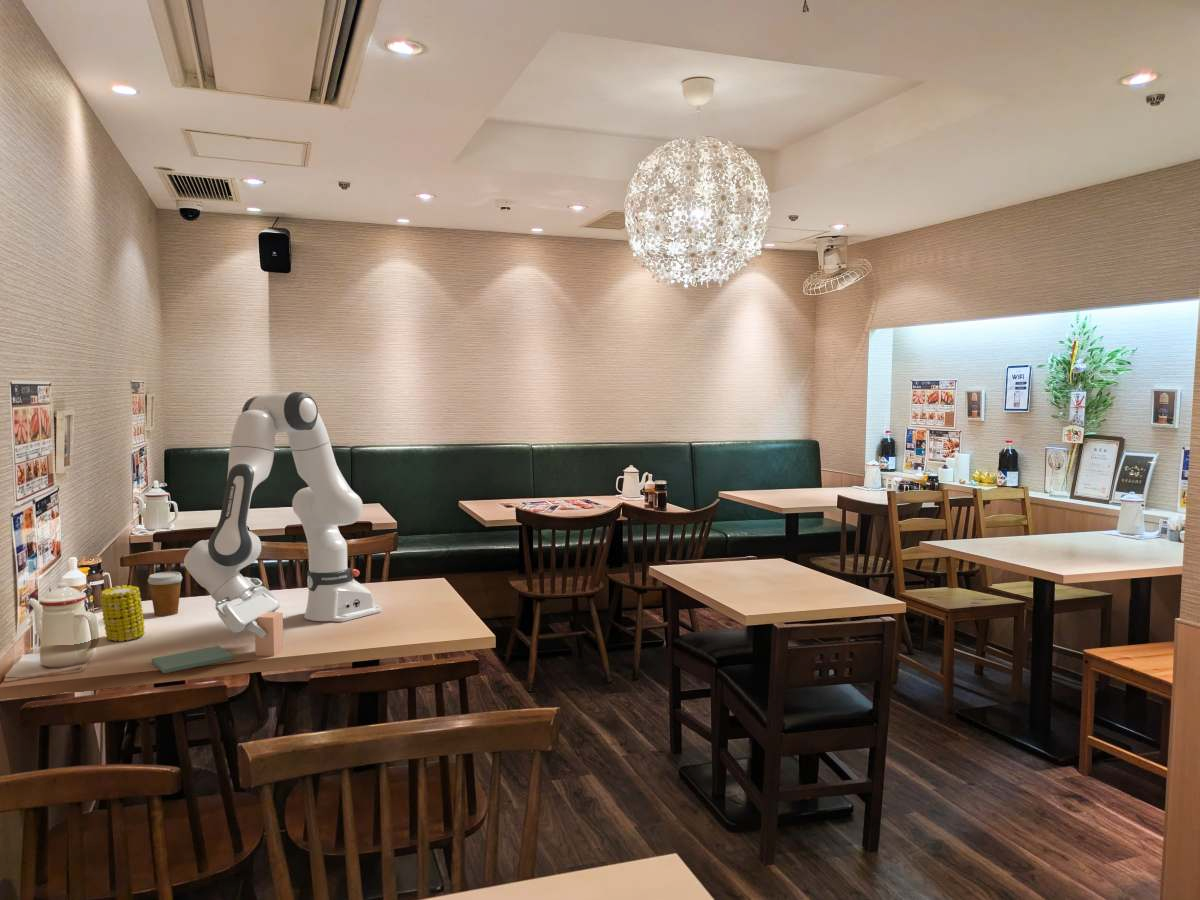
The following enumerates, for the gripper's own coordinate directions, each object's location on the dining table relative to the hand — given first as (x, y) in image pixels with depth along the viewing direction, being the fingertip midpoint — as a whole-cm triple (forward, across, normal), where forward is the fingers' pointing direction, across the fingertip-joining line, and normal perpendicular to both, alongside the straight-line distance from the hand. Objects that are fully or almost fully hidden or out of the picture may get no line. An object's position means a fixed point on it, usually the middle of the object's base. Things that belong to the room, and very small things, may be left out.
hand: (271, 632), depth 216 cm
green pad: (-8, -9, +15) cm, 19 cm away
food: (-29, +8, +37) cm, 47 cm away
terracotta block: (+3, 0, +4) cm, 5 cm away
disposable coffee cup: (-32, +33, +40) cm, 61 cm away
